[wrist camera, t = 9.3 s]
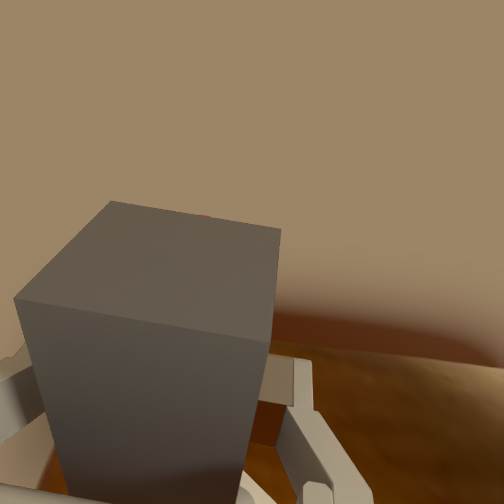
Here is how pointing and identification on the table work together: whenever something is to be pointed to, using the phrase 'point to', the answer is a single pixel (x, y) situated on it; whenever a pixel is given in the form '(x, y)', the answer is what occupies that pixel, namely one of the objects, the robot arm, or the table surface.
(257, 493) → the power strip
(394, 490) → the table surface
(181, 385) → the gray rectangular block
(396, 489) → the table surface
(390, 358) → the table surface
